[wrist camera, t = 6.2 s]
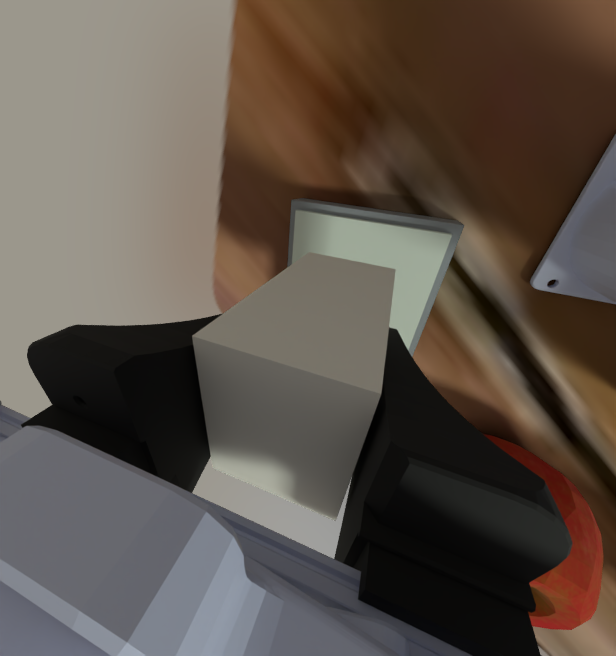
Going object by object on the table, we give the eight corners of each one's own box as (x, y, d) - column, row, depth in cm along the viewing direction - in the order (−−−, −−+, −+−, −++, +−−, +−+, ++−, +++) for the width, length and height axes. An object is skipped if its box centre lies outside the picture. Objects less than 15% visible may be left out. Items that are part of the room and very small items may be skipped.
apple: (575, 424, 19) (719, 631, 10) (537, 507, 24) (612, 695, 15) (418, 405, 23) (425, 545, 14) (412, 480, 28) (415, 619, 19)
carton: (395, 269, 11) (381, 393, 5) (369, 359, 14) (335, 521, 7) (309, 251, 12) (192, 336, 5) (299, 339, 15) (212, 467, 8)
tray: (458, 220, 15) (466, 226, 13) (407, 353, 21) (407, 372, 19) (302, 198, 18) (288, 200, 16) (292, 322, 23) (280, 336, 21)
